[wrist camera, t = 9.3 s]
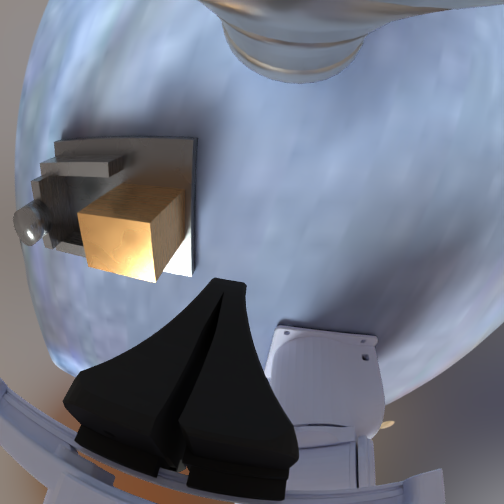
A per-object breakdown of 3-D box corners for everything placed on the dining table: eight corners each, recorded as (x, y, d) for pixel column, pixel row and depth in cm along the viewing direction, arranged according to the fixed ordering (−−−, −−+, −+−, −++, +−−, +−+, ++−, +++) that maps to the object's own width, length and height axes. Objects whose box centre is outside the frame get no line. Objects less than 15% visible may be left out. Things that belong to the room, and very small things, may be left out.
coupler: (197, 138, 16) (155, 157, 11) (194, 270, 21) (168, 323, 16) (54, 140, 16) (1, 161, 11) (69, 245, 22) (32, 281, 17)
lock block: (185, 189, 17) (150, 223, 12) (184, 238, 19) (155, 282, 14) (118, 183, 17) (74, 212, 13) (123, 228, 19) (85, 265, 15)
